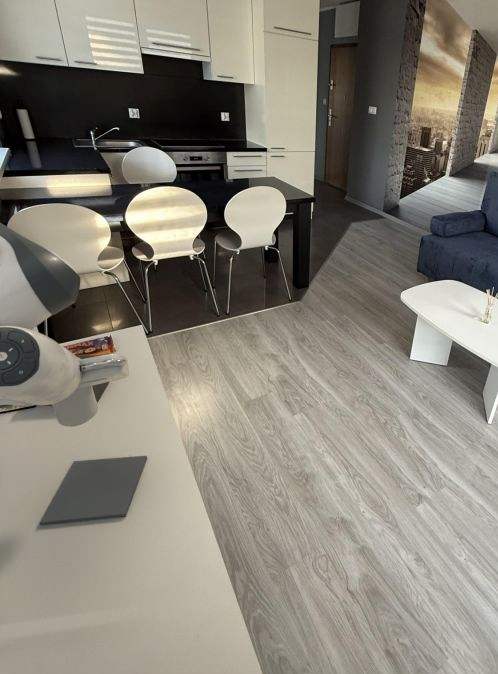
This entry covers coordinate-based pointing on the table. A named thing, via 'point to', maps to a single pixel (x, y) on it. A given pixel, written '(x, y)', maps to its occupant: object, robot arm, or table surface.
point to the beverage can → (76, 407)
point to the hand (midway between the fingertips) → (69, 384)
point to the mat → (95, 490)
